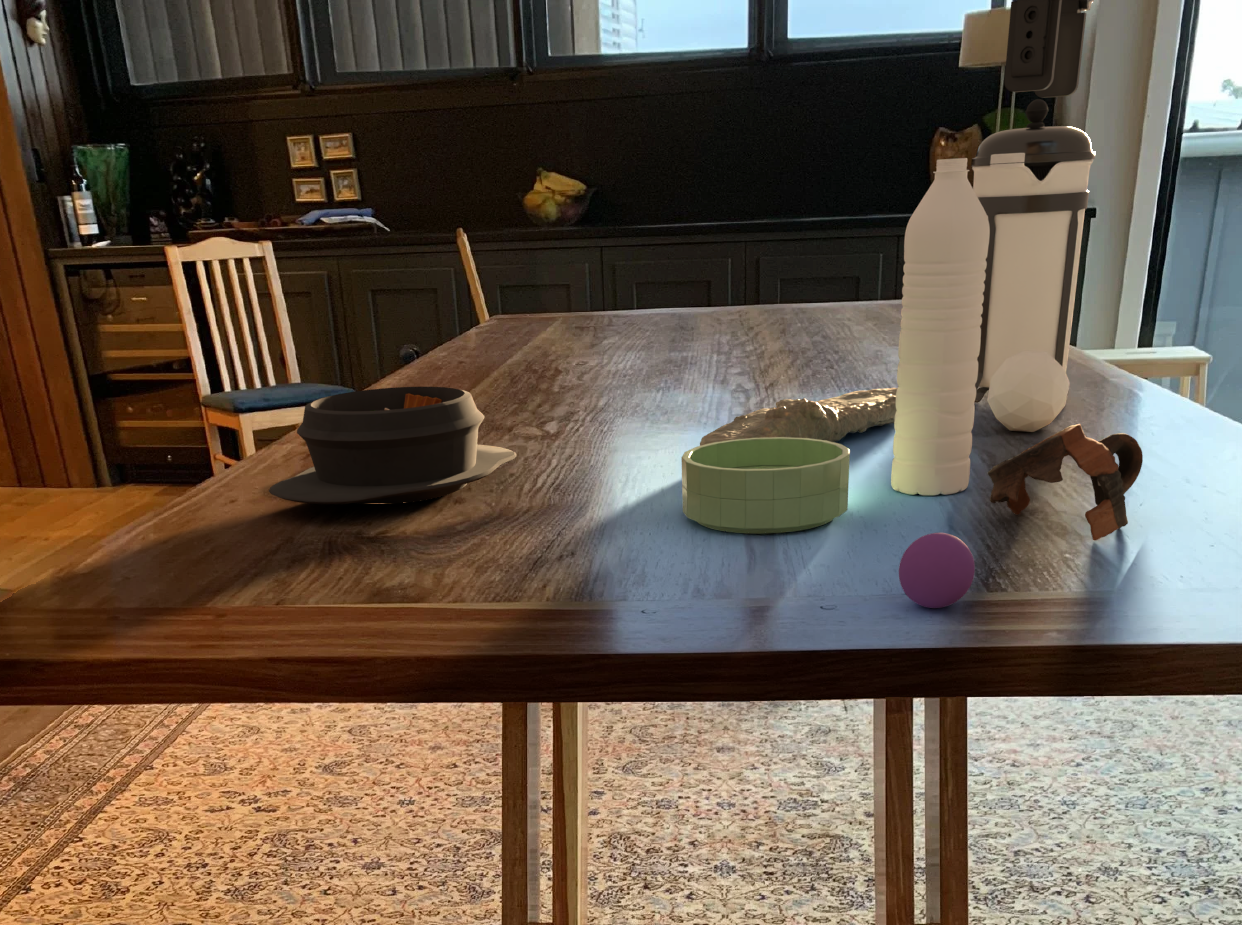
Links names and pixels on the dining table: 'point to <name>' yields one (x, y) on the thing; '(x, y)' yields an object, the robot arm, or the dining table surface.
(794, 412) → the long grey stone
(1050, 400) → the geometric ball
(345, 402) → the grey pot on saucer
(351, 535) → the dining table surface
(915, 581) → the ball
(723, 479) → the bowl
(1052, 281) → the coffee press
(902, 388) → the water bottle
